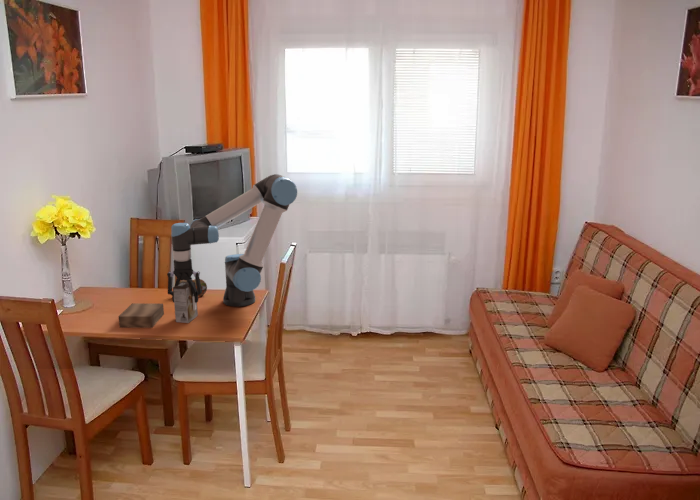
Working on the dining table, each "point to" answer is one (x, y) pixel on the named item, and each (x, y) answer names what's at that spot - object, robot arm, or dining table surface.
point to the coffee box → (184, 303)
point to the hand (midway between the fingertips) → (186, 309)
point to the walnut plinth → (141, 315)
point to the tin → (203, 286)
